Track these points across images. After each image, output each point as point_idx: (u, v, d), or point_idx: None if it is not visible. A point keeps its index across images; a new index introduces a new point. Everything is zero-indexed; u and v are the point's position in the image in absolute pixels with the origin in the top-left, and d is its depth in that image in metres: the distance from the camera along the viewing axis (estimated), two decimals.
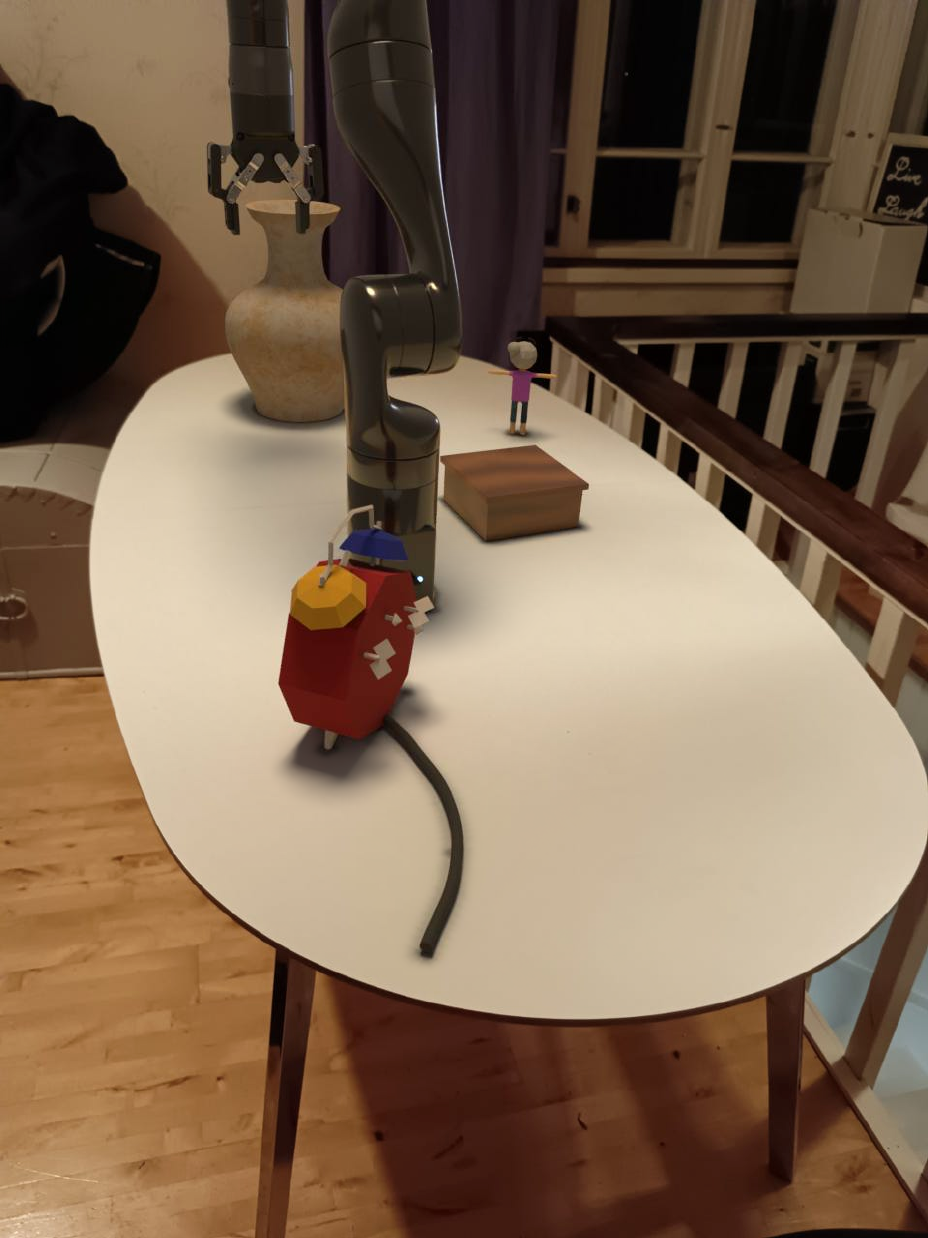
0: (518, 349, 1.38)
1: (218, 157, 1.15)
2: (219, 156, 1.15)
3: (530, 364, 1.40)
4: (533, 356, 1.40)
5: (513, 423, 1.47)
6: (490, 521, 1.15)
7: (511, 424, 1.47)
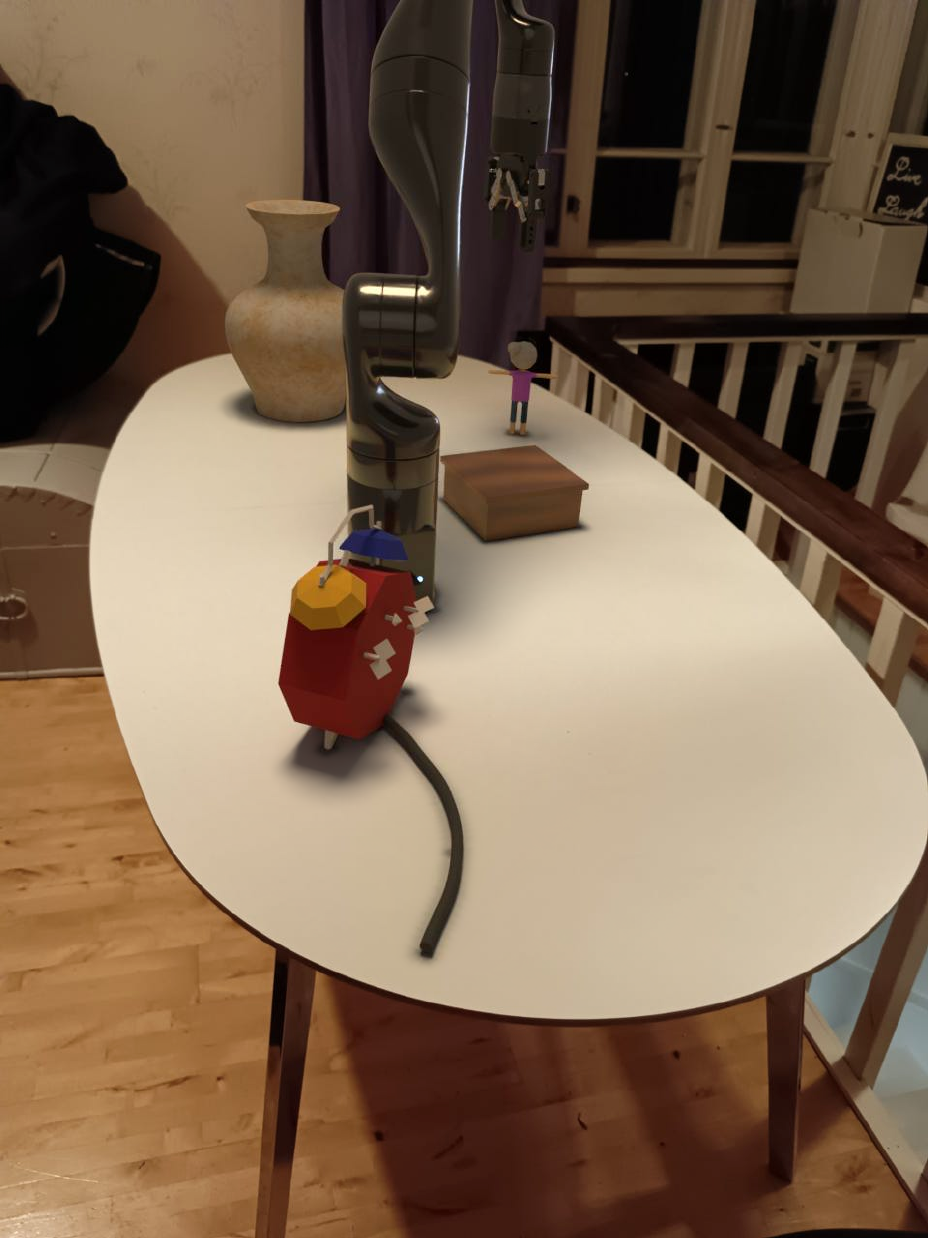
0: (518, 349, 1.38)
1: (488, 168, 1.32)
2: (489, 167, 1.32)
3: (530, 364, 1.40)
4: (533, 356, 1.40)
5: (513, 423, 1.47)
6: (490, 521, 1.15)
7: (511, 424, 1.47)
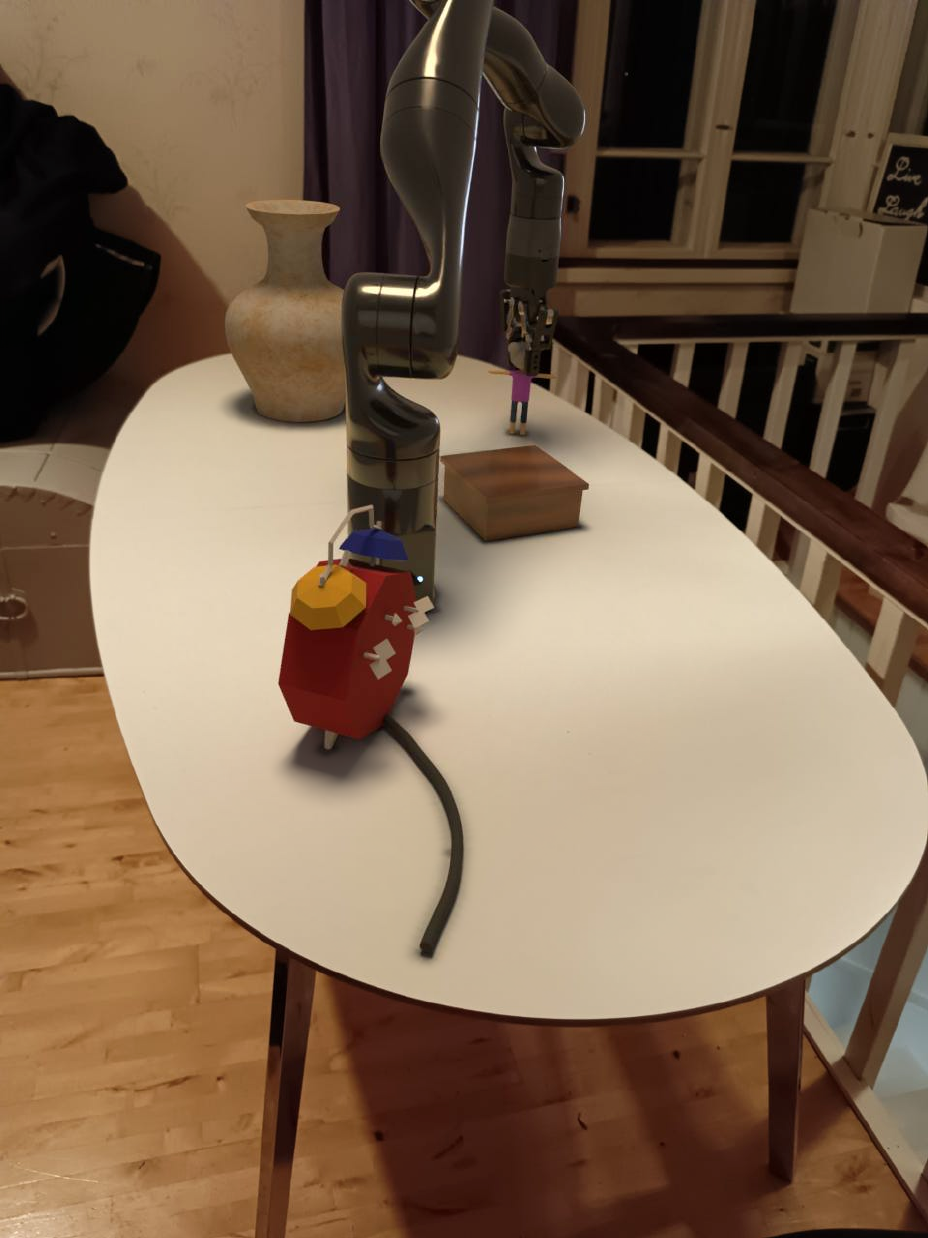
0: (518, 349, 1.38)
1: (502, 300, 1.42)
2: (502, 299, 1.42)
3: None
4: None
5: (513, 423, 1.47)
6: (490, 521, 1.15)
7: (511, 424, 1.47)
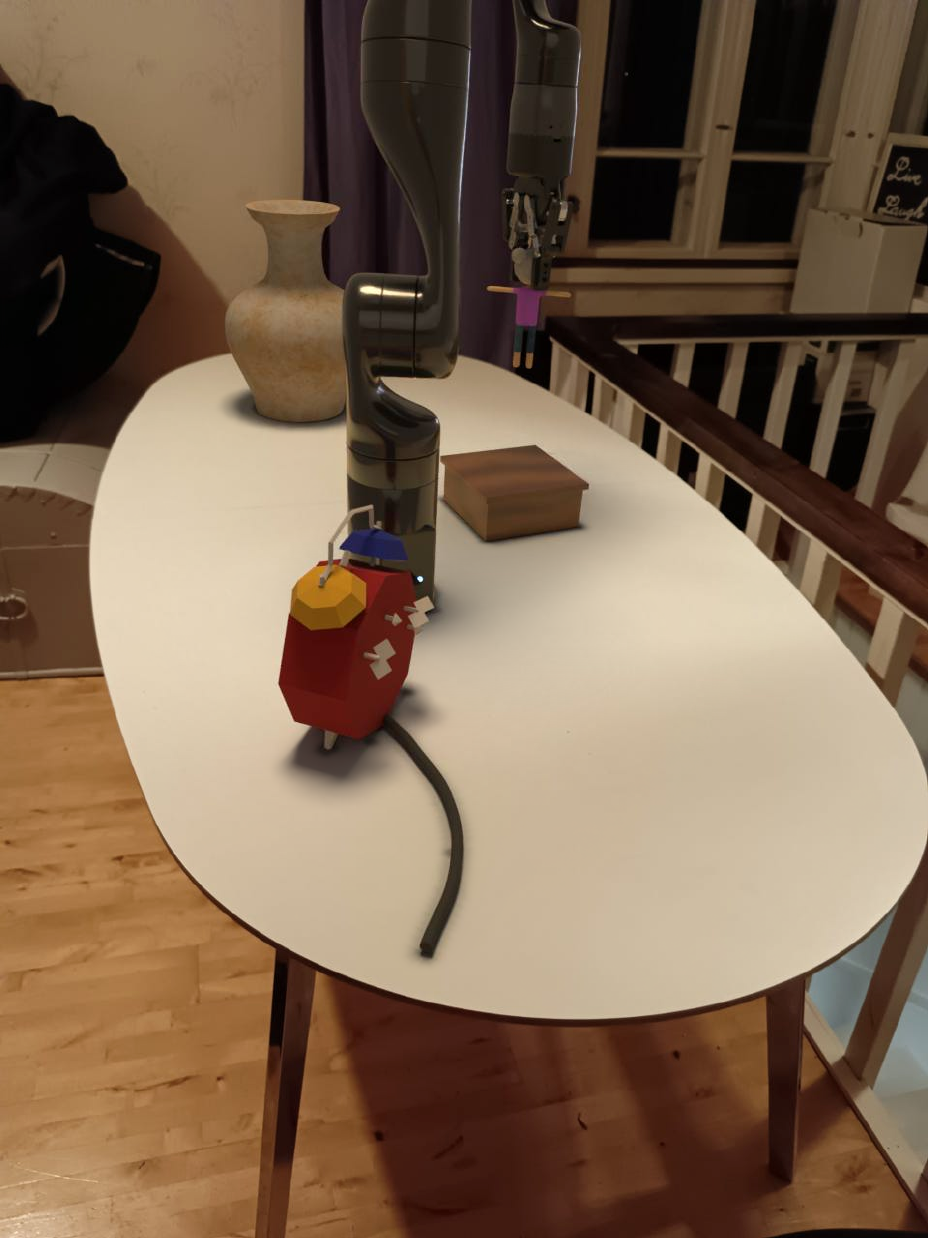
0: (524, 256, 1.13)
1: (504, 201, 1.17)
2: (505, 199, 1.17)
3: None
4: None
5: (517, 353, 1.22)
6: (490, 521, 1.15)
7: (515, 355, 1.22)
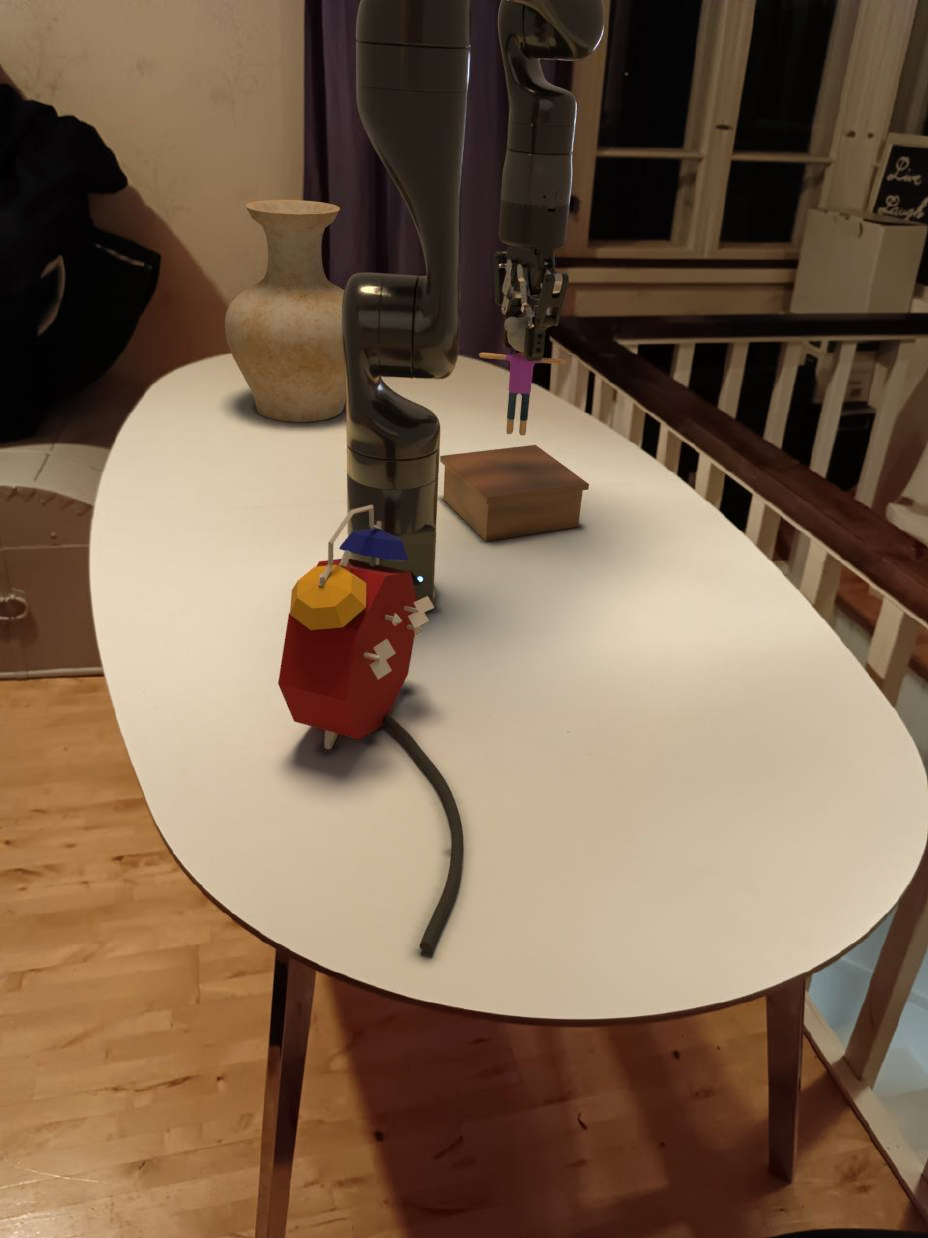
0: (517, 326, 1.08)
1: (496, 264, 1.12)
2: (497, 263, 1.12)
3: None
4: None
5: (511, 420, 1.17)
6: (490, 521, 1.15)
7: (508, 422, 1.17)
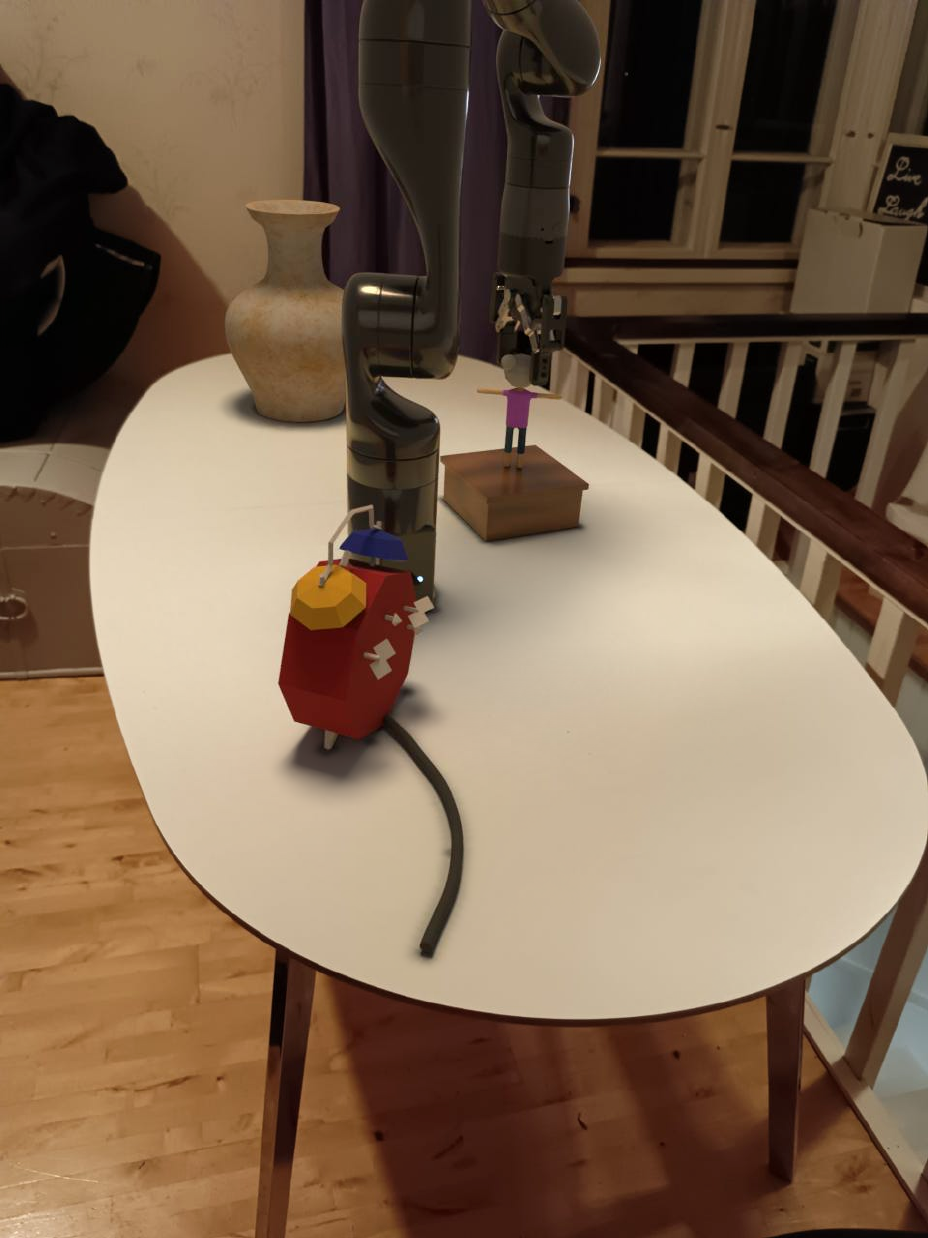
0: (514, 364, 1.11)
1: (494, 285, 1.13)
2: (495, 284, 1.13)
3: None
4: None
5: (508, 454, 1.19)
6: (490, 521, 1.15)
7: (506, 455, 1.20)
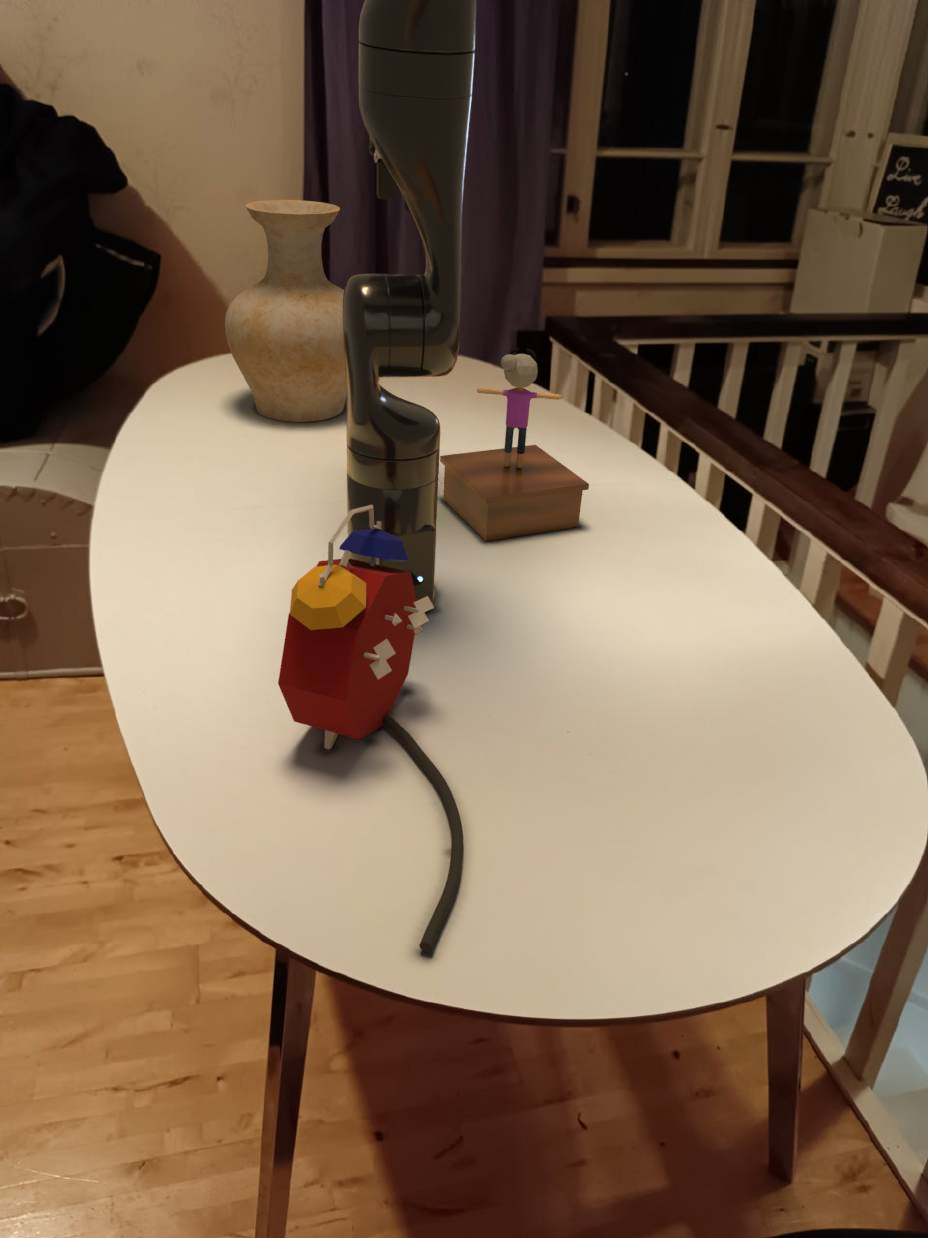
0: (514, 364, 1.11)
1: None
2: None
3: (529, 382, 1.13)
4: (533, 372, 1.12)
5: (508, 454, 1.19)
6: (490, 521, 1.15)
7: (506, 455, 1.20)
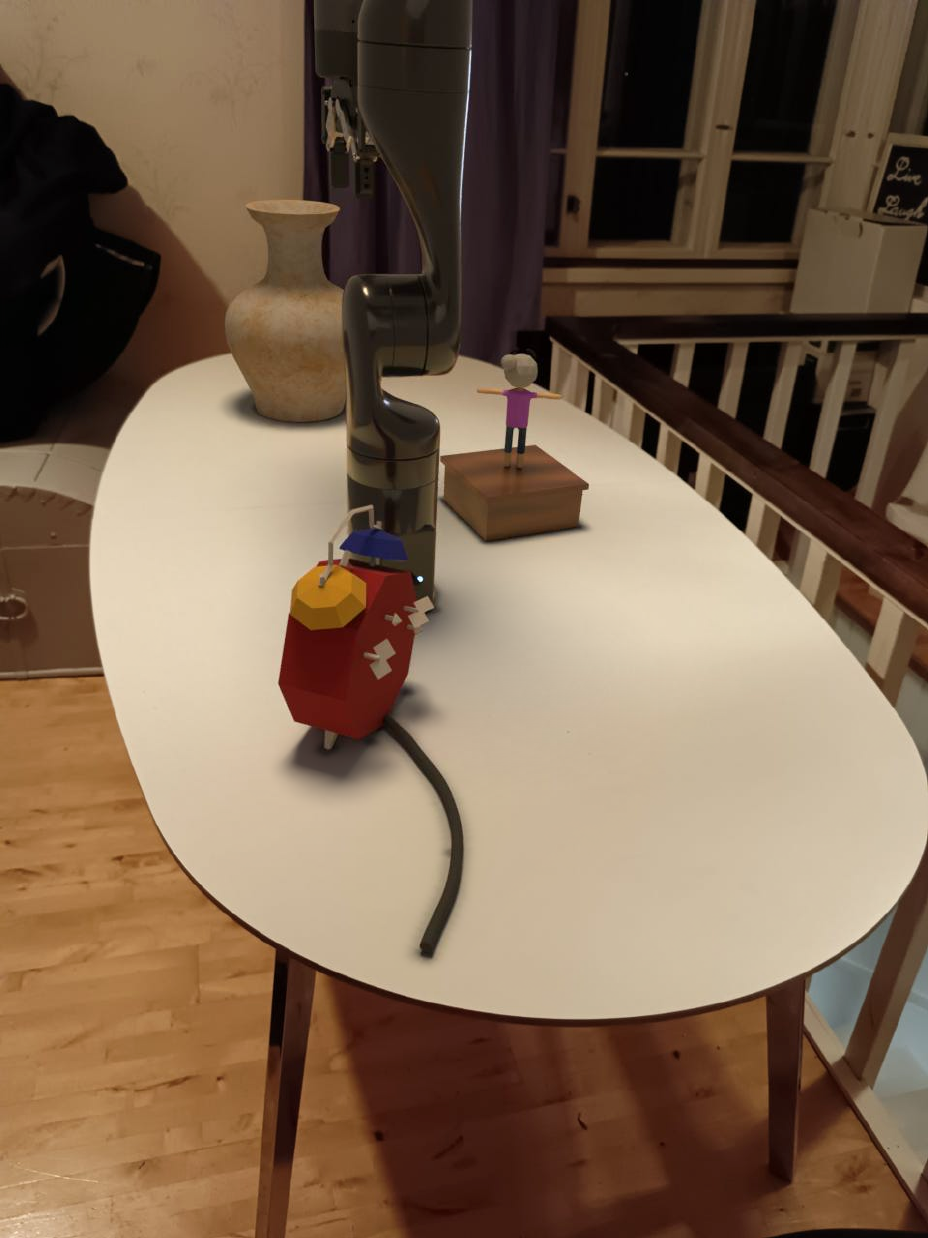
0: (514, 364, 1.11)
1: (323, 100, 1.10)
2: (323, 99, 1.09)
3: (529, 382, 1.13)
4: (533, 372, 1.12)
5: (508, 454, 1.19)
6: (490, 521, 1.15)
7: (506, 455, 1.20)
